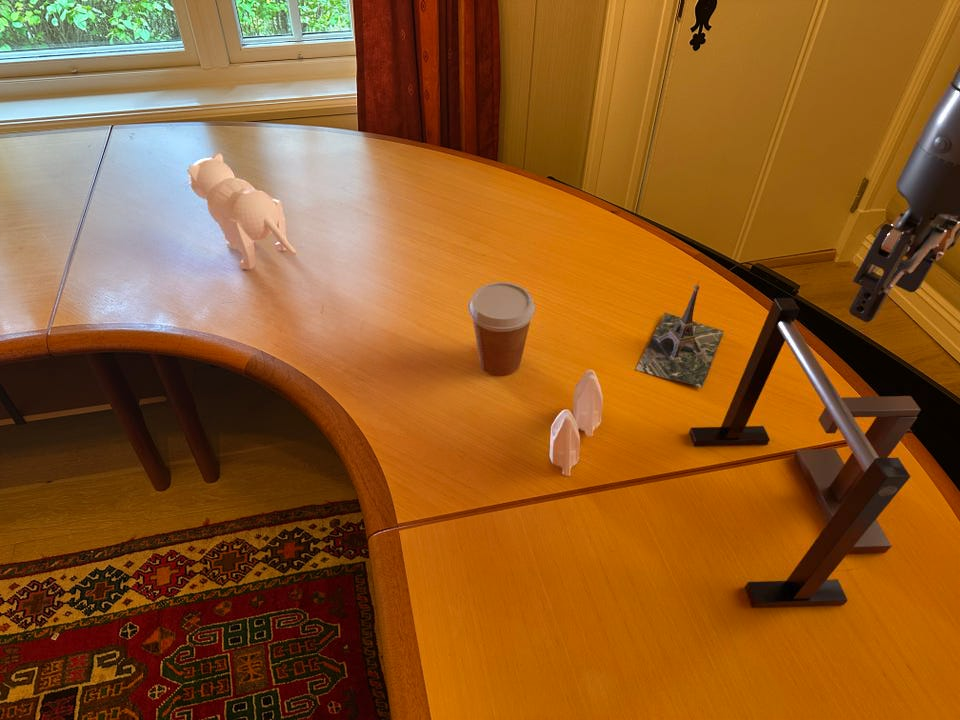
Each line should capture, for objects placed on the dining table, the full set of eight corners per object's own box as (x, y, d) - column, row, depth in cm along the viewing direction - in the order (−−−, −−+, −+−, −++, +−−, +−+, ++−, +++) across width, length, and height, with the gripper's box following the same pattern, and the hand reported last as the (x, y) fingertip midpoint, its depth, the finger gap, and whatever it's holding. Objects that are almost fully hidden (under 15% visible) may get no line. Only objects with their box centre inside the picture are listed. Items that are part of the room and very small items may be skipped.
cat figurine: (323, 260, 113) (306, 177, 102) (281, 288, 107) (257, 202, 96) (235, 222, 124) (210, 142, 112) (191, 245, 117) (160, 163, 106)
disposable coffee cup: (517, 336, 98) (521, 274, 89) (540, 375, 91) (546, 313, 83) (461, 348, 95) (459, 287, 87) (480, 390, 89) (480, 327, 81)
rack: (843, 605, 65) (960, 477, 49) (752, 608, 65) (840, 480, 49) (760, 431, 83) (827, 296, 67) (688, 433, 83) (738, 297, 67)
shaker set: (579, 406, 86) (588, 348, 79) (606, 417, 85) (618, 360, 77) (540, 463, 79) (546, 406, 71) (569, 477, 77) (578, 420, 70)
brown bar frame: (830, 456, 80) (894, 356, 68) (885, 553, 70) (972, 456, 57) (755, 457, 80) (806, 358, 67) (800, 555, 70) (868, 459, 57)
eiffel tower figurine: (702, 392, 88) (728, 321, 79) (635, 369, 92) (652, 299, 83) (723, 332, 98) (748, 264, 89) (661, 314, 102) (680, 246, 92)
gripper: (979, 185, 45) (881, 348, 56) (1057, 140, 51) (955, 295, 62) (880, 151, 50) (808, 308, 61) (963, 113, 56) (884, 262, 67)
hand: (883, 301), depth 61 cm, fingers open, 8 cm apart
